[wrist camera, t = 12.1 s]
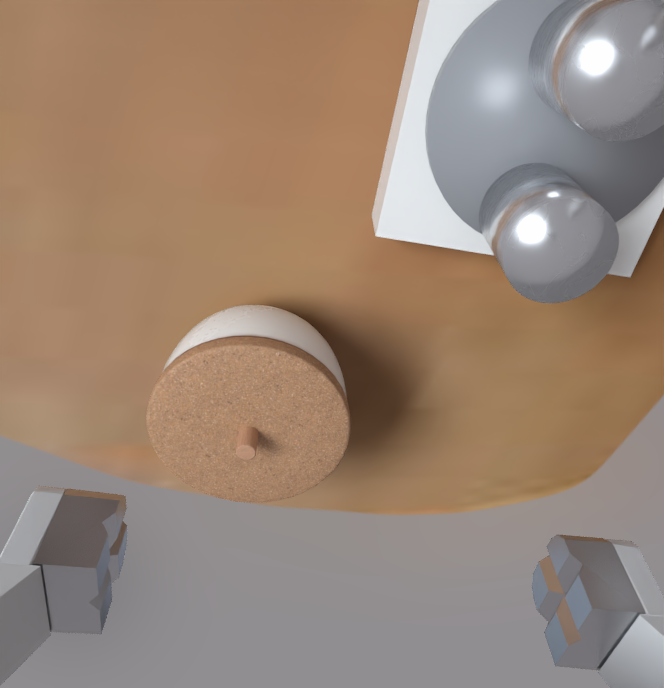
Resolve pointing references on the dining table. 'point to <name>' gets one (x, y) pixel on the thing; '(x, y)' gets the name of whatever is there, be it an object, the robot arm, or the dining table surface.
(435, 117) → the kitchen scale
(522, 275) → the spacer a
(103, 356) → the dining table surface
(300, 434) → the lidded jar
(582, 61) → the silver ball
